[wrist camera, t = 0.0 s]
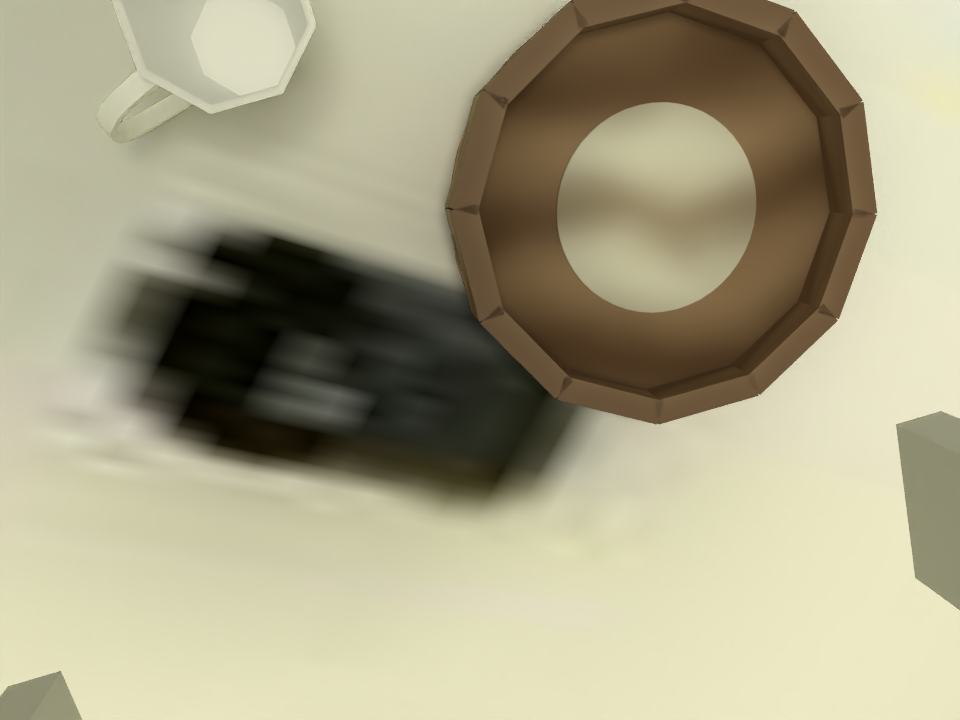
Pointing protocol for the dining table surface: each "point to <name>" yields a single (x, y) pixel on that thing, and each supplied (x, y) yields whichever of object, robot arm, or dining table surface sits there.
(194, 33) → the cup
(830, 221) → the round tray
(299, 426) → the dining table surface
